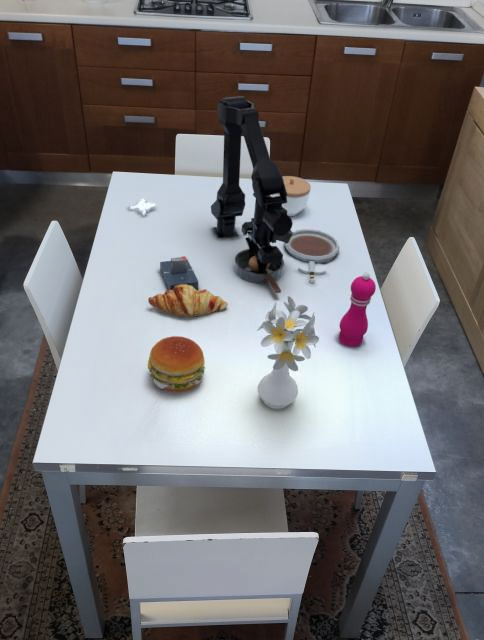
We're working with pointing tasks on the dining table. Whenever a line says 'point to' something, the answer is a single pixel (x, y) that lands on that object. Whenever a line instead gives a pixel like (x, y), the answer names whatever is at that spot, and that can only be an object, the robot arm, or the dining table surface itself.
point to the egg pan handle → (272, 283)
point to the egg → (255, 264)
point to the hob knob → (179, 264)
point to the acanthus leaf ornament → (143, 207)
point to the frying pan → (312, 249)
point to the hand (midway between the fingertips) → (258, 268)
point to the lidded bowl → (295, 194)
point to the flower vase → (285, 352)
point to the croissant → (187, 301)
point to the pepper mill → (357, 311)
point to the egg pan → (253, 276)
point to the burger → (176, 363)
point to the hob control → (178, 276)
